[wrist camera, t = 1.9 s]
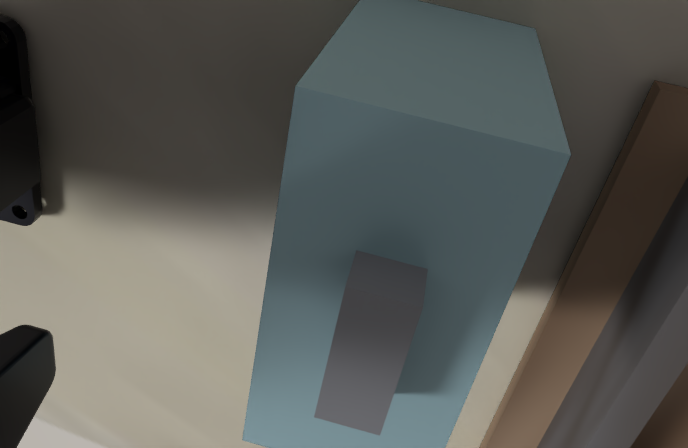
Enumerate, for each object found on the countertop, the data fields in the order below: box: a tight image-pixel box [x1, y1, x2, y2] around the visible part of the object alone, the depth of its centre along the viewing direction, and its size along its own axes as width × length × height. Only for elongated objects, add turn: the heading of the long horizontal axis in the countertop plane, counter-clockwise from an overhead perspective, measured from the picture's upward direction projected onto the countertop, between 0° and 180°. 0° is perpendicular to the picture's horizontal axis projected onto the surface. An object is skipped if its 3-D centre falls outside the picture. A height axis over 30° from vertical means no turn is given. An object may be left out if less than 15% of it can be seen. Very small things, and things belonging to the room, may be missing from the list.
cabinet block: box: [242, 0, 571, 448], centre depth 14 cm, size 4×8×8 cm, turn 169°
